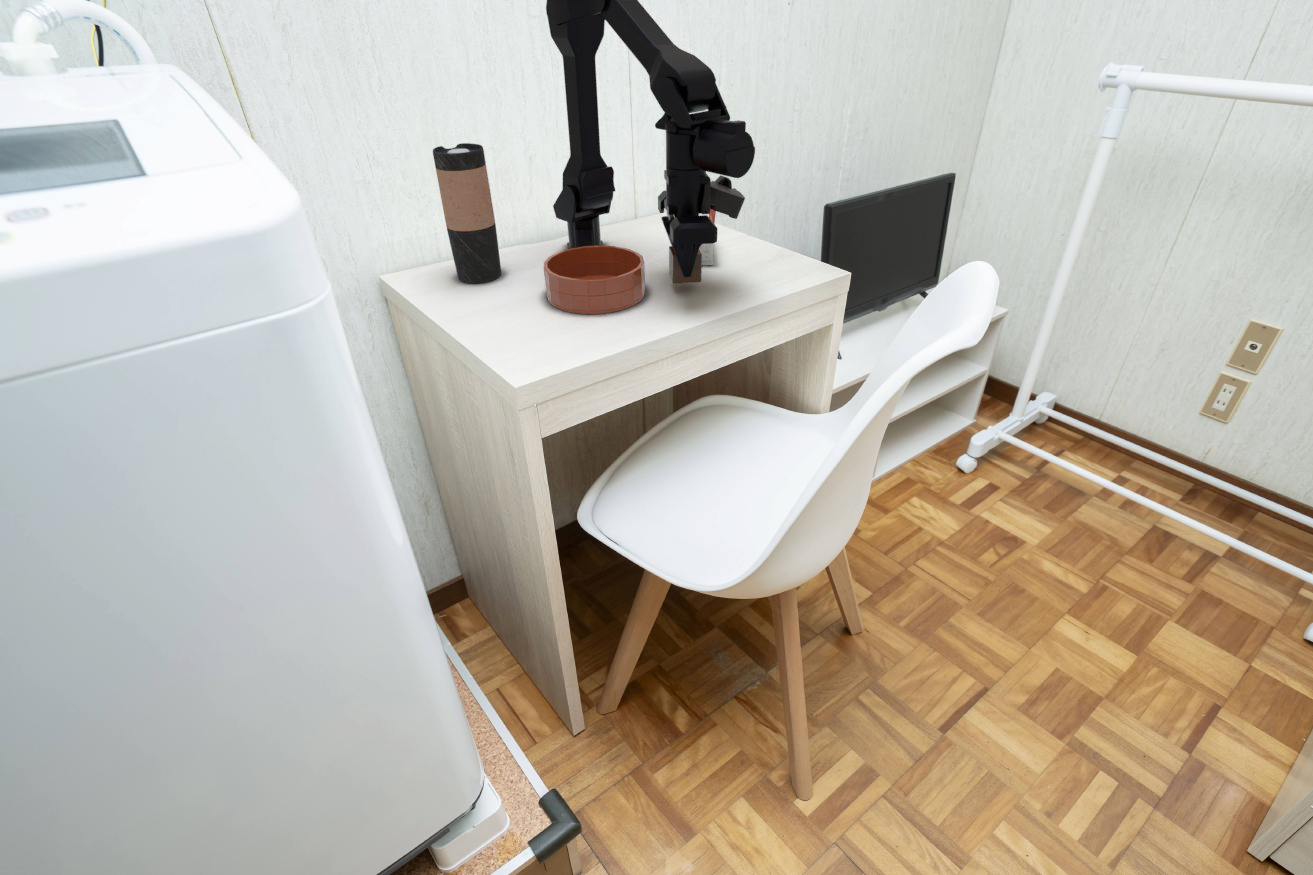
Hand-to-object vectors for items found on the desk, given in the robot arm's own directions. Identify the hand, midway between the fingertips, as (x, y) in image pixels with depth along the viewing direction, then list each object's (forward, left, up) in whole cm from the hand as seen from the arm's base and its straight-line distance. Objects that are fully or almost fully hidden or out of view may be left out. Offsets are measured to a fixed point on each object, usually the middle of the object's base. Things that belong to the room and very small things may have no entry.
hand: (685, 271), depth 104 cm
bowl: (0, -14, -3) cm, 14 cm away
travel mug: (-11, -33, -3) cm, 35 cm away
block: (0, 0, -1) cm, 1 cm away
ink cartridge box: (-15, +6, -3) cm, 16 cm away
